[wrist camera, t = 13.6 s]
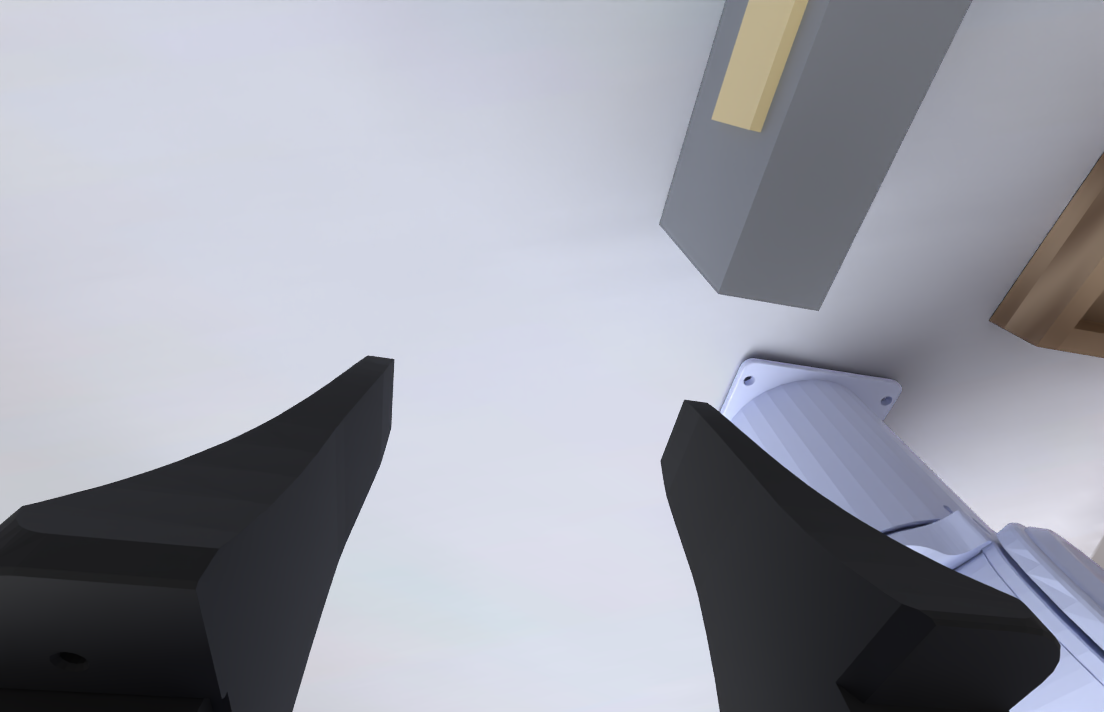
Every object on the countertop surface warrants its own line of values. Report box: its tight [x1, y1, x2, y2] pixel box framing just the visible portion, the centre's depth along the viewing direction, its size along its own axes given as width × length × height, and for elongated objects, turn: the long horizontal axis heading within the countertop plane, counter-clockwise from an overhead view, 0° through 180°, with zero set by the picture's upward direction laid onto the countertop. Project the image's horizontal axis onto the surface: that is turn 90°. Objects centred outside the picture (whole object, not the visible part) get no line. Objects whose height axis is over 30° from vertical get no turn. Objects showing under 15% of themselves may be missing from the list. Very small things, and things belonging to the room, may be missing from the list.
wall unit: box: [659, 0, 972, 311], centre depth 14 cm, size 14×3×7 cm, turn 169°
